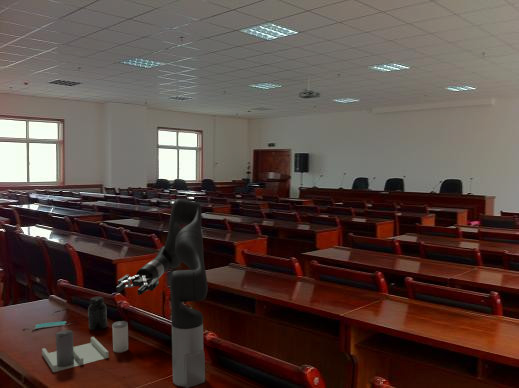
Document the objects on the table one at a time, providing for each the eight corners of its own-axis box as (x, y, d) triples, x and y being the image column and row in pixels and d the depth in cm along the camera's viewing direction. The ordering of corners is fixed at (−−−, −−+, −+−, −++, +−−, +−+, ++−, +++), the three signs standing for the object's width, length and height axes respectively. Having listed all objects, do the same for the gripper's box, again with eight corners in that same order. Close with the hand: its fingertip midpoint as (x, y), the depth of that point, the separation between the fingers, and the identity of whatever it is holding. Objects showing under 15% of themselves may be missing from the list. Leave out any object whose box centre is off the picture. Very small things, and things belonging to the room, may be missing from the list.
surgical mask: (71, 307, 192) (81, 312, 185) (71, 317, 192) (82, 322, 185) (19, 320, 177) (28, 326, 170) (19, 330, 177) (29, 337, 170)
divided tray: (108, 360, 149) (108, 351, 149) (53, 375, 139) (53, 365, 139) (93, 344, 162) (93, 336, 162) (42, 357, 152) (41, 348, 152)
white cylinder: (130, 352, 155) (129, 324, 154) (116, 356, 152) (115, 327, 151) (125, 347, 159) (124, 320, 158) (111, 351, 156) (110, 323, 155)
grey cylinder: (75, 364, 144) (74, 333, 144) (59, 368, 141) (57, 337, 141) (71, 358, 148) (70, 329, 148) (55, 362, 145) (54, 332, 145)
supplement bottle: (101, 323, 183) (100, 294, 182) (110, 327, 179) (109, 297, 178) (85, 328, 178) (84, 298, 177) (94, 332, 174) (93, 301, 173)
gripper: (133, 262, 178) (109, 279, 163) (166, 265, 174) (144, 283, 159) (135, 279, 180) (111, 298, 164) (167, 283, 176) (146, 303, 161)
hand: (128, 291), depth 162 cm, fingers open, 8 cm apart
